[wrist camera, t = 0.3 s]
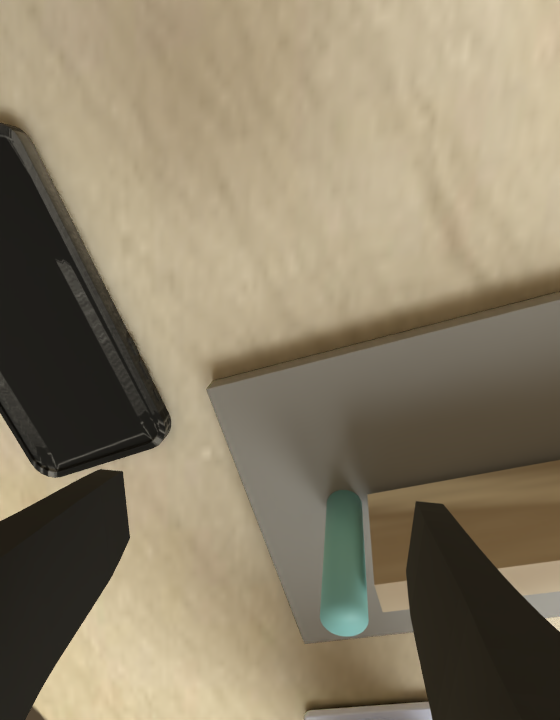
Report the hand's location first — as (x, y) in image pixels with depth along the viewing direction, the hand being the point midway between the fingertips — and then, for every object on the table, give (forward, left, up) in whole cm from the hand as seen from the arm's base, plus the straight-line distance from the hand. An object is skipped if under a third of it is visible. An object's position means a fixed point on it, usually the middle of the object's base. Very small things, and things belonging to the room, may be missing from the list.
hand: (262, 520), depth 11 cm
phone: (+6, +11, -10) cm, 16 cm away
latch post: (-6, 0, -10) cm, 11 cm away
